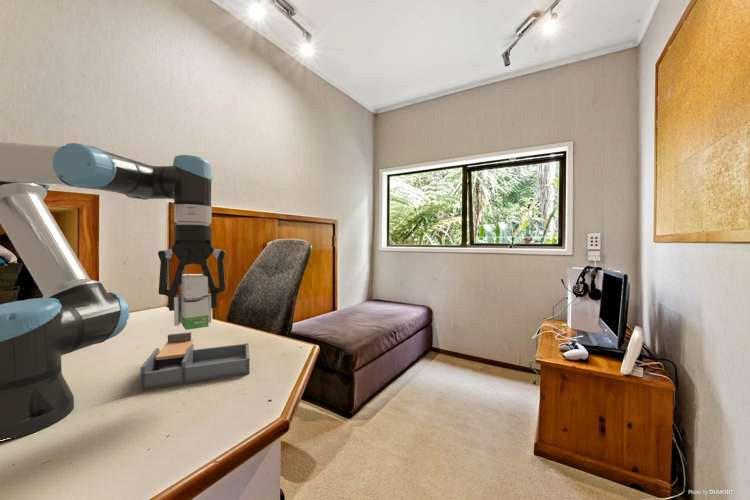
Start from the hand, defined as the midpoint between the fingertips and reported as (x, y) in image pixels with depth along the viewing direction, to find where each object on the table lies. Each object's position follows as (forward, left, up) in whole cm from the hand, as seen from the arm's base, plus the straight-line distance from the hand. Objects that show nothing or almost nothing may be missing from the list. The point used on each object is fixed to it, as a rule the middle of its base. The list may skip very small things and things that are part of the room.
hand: (193, 322), depth 72 cm
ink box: (0, 0, -1) cm, 1 cm away
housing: (0, +13, -17) cm, 21 cm away
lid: (-7, +21, -13) cm, 25 cm away
